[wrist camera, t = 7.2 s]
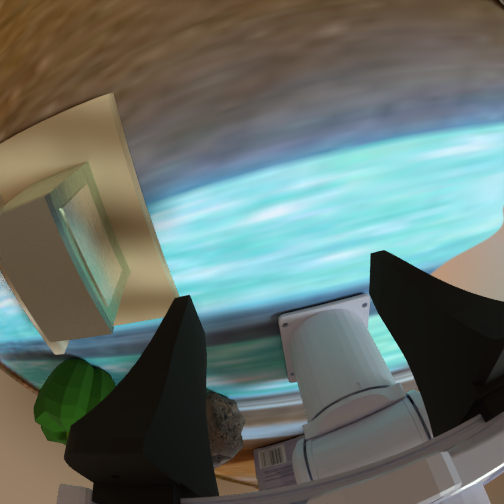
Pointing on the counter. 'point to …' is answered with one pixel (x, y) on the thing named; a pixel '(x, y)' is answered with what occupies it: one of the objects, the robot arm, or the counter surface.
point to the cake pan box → (275, 464)
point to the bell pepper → (69, 397)
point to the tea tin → (64, 255)
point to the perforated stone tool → (223, 428)
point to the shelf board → (111, 192)
